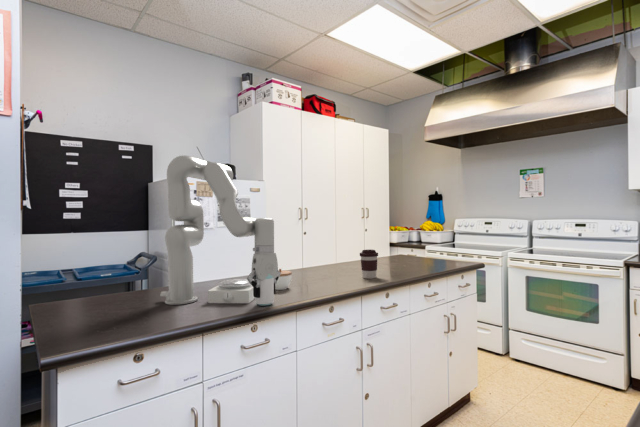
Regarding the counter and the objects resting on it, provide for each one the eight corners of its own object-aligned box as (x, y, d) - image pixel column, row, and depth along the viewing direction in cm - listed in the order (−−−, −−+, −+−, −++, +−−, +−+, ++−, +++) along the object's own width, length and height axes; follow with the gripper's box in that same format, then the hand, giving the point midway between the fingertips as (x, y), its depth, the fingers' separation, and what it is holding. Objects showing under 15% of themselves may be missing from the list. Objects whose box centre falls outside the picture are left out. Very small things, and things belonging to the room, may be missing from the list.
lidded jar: (265, 290, 164) (264, 270, 164) (276, 285, 174) (275, 266, 174) (285, 291, 160) (284, 270, 160) (295, 286, 170) (295, 267, 170)
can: (274, 305, 134) (274, 274, 134) (255, 306, 132) (255, 274, 132) (273, 301, 140) (272, 271, 140) (255, 302, 139) (255, 271, 139)
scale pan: (212, 287, 142) (212, 285, 142) (225, 281, 156) (225, 278, 156) (246, 287, 141) (246, 285, 141) (256, 281, 155) (256, 278, 155)
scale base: (207, 303, 140) (207, 291, 140) (223, 293, 158) (223, 282, 158) (248, 303, 139) (248, 291, 139) (260, 293, 156) (260, 282, 156)
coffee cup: (380, 279, 185) (379, 250, 186) (361, 279, 186) (360, 251, 186) (377, 275, 195) (376, 249, 195) (359, 276, 195) (358, 249, 196)
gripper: (252, 252, 127) (252, 301, 127) (287, 248, 140) (287, 293, 140) (240, 250, 132) (240, 298, 132) (274, 247, 145) (274, 290, 145)
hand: (264, 295), depth 136 cm, fingers closed on can, 7 cm apart
